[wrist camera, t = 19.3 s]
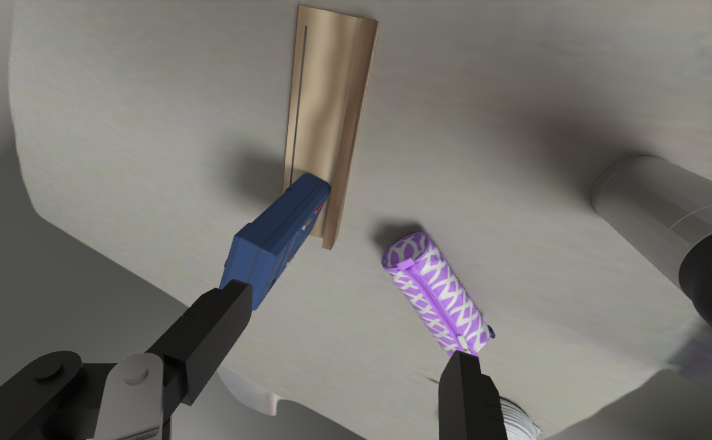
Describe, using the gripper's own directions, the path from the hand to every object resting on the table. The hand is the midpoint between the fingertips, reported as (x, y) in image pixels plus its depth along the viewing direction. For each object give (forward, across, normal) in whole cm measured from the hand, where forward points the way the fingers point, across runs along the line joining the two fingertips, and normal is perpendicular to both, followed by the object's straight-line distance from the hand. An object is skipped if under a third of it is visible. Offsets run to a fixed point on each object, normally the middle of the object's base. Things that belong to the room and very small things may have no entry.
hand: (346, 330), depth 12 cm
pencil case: (+36, -11, +23) cm, 45 cm away
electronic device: (+35, +12, +14) cm, 39 cm away
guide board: (+36, +12, +4) cm, 38 cm away
